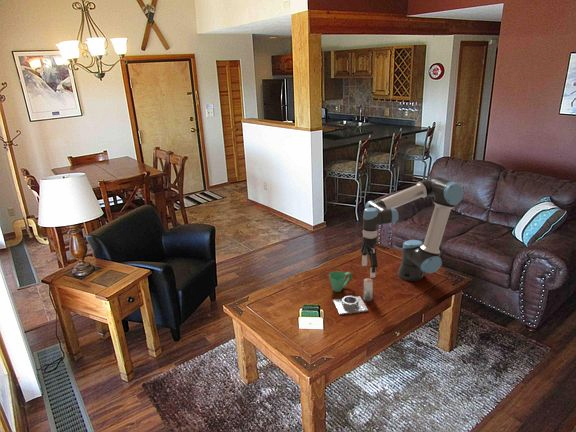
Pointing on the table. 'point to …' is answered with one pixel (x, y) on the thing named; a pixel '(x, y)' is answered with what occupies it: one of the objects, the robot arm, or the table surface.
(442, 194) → the robot arm
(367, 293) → the pale grey cylinder
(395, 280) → the table surface
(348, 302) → the duct flange
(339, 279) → the mug
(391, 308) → the table surface
